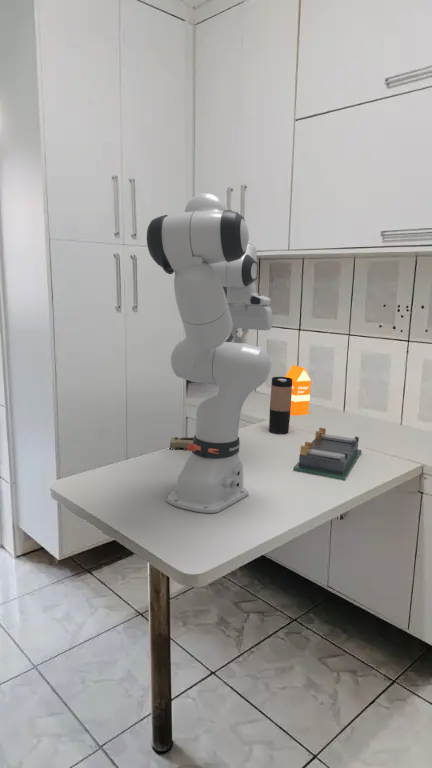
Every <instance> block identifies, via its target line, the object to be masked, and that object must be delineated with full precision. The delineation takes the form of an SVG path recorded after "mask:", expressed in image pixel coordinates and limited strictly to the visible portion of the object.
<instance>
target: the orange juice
mask: <svg viewBox="0 0 432 768" xmlns="http://www.w3.org/2000/svg"><path fill="white" fill-rule="evenodd" d="M306 370H307V369H306V368H305V367H302V366H298V365H295V364H292V365H291V366H290V369H289V370H288V372H287V373H286V375H285V376H284V377H288V378H291V379H292V397H291V412H290V416H293V417H294V416H305V415H309V409H310V401H311V400H310V398H311V385H312V384H311V382H312V380H311V378H310V376H309V375H308V374H309V373H308V372H307V371H306Z"/></svg>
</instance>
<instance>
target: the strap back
mask: <svg viewBox="0 0 432 768" xmlns="http://www.w3.org/2000/svg"><path fill="white" fill-rule="evenodd" d="M322 439H328V440H334V441H341V442H347V443H352V440H356V439H355V437H354V438H352V437H346V436H339V435H334V434H333V435H332V434H327V433H325V434H322Z"/></svg>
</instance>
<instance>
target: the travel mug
mask: <svg viewBox="0 0 432 768" xmlns="http://www.w3.org/2000/svg"><path fill="white" fill-rule="evenodd" d="M291 397H292V379H291V378H288V377H285V376H274V377H272V378H271V387H270V399H269V400H270V401H269V421H268V423H269V424H268V432H270V433H272V434H275V435H286V434H288V433H289V429H290V418H291V414H290V412H291Z"/></svg>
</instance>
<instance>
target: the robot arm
mask: <svg viewBox="0 0 432 768" xmlns="http://www.w3.org/2000/svg"><path fill="white" fill-rule="evenodd" d="M246 223H247V222H246V221H245V218H244V217H243V215H241V214H240V213H239V212H238V211H234V210H232V209H230V208H228V207H227V205H226V204H225V203H224V202H223V201H222V200H221V199H220V198H219V197H218V195H215V194H212V193H208V192H203V193H198V194H197V195H195V196H193V197H192V198H191V199H189V201H188V202H187V204H186V206H185V209H184V212H180V213H175V214H172V215H168V214H164V215H161V216H158V217H155V218H153V219H152V220H151V221H150V222H149V224H148V226H147V230H146V245H147V250H148V253H149V255H150V257H151V258H152V260H153V261H154V262H155V263H156V264H157V265H158V266H159V267H161V268H162V270H163V271H164V272H165V273H166V274H168V275H172V274H174V279H173V286H174V295H175V301H176V305H177V309H178V313H179V316H180V319H181V322H182V325H183V328H184V332H185V338H184V339H183V340H180V342H178V343H177V344H176V345H175V346H174V348H173V350H172V352H171V355H170V366H171V369H172V371H173V373H174V374H175V375H176V377H177V378H181V379H183V380H185V381H186V380H187V381H189V382H193V383H200V384H208V385H209V384H210V385H217V386H218V392H217V394H216V395H214V396H211V397H208V398H207V399H205V400H203V401H201V402H200V403H199V405H198V407H197V409H196V411H195V412H196V413H195V434H194V436H193V438H194V439H193V442H192V443H189V444H188V447H187V448H188V450H187V451H188V452H191V453H190V455H189V457H188V458H187V459H186V460H187V461H186V462H185V464H184V466H183V467H182V470H181V471H180V473H179V475H178V476H177V477H178V478H177V483H176V486H175V487H174V488H173V490H172V491H171V492H170V493H169V495H167V499H166V502H167V503H168V504H170V505H172V506H173V507H174V506H175V507H177V508H180V509H184V510H187V511H192V512H197V513H204V514H206V513H207V514H216V513H219V512H221V511H223V510H224V509H226V508H228V507H230V506H231V505H233V504H235V503H236V502H238V501H240V500H242V499H244V498H245V497H247V496H249V490H248V489H247V488H245V486H244V485H245V484H244V476H245V475H244V462H243V460H242V459H241V457H240V454H239V452H240V445H241V442H240V437H239V427H240V420H241V419H240V417H241V412H242V408H243V406H244V403H245V402H246V399H247V398H248V397H249V395H250V394H251V393H252V392H254V391H255V390H256V389H258V388H259V387H261V386H262V385H264V383H265V382H266V381H267V380H268V378H269V375H270V373H271V370H272V369H271V368H272V365H271V364H272V363H271V358H270V356H269V353H267V350H266V349H265V348H263V347H260V346H256V345H253V344H250V343H247V342H245V338H246V336H247V335H248V333H249V330H255V331H257V330H258V331H270V330H271V329H272V328H273V311H272V307H270V306H269V305H270V304H271V301H272V299H271V298H270V297H267V296H265V295H262V294H260V293H257V284H256V280H257V279H258V274H259V271H258V270H259V264H258V256H257V255H258V253H257V248H256V246H255V245H253V244H252V243H249V239H250V236H249V235H250V234H249V233H250V232H249V229H248V226H247V224H246ZM224 287H225V288H226V293H225V289H224ZM239 329H241V333H242V334H241V336H238V334H237V331H238V330H239ZM231 335H232V337H233V342H231V341H227V340H228V339H229V337H230V336H231Z"/></svg>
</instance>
